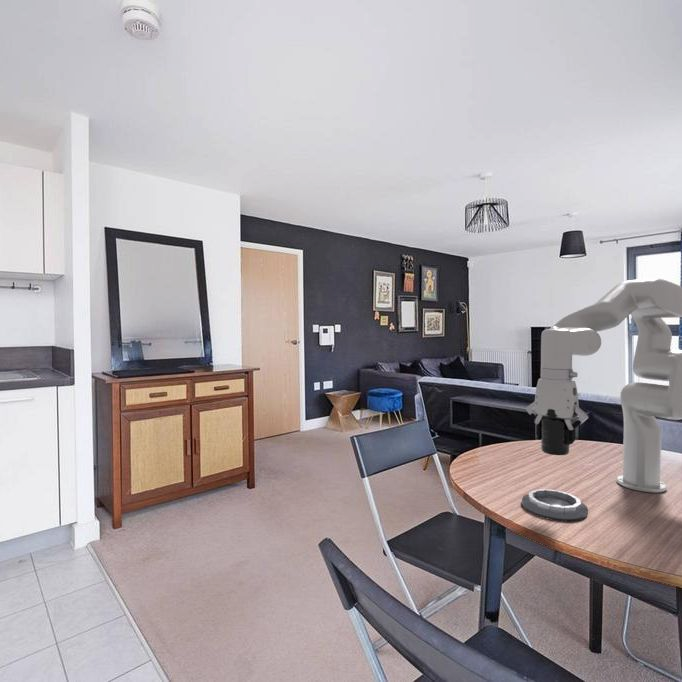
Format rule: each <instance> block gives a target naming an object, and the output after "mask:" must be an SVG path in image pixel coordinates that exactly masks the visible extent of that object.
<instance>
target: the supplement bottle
mask: <svg viewBox="0 0 682 682" xmlns="http://www.w3.org/2000/svg"><path fill="white" fill-rule="evenodd" d="M546 415H548V416H545V417H544V418H542V420H541V439H540V441H541V442H540V443H541V444H540V448H541V451H542V453H544V454H547V455H551V456H566V455H568V454H569V453H570V445H567V444H566V430H567V429H568V427H567V425H566V422H565V420H564V419H560V418H557V417H556V416H557V415H556V414H555V410H553V409H549V410H547V413H546Z"/></svg>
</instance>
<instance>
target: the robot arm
mask: <svg viewBox="0 0 682 682" xmlns="http://www.w3.org/2000/svg"><path fill="white" fill-rule="evenodd" d="M630 315H631V317H632V319H633V321H634V323H635V326H636V327H637V333H638V334H637V341H636V346H635V352H634V356H633V362H632V372H633V373H634V375H635V376H637V377H638V378H641V379H644V380H645V379H646V380H651V381H652V380H653V381H661V382H668V385H665V384H657V383H647V382H640V381H639V382H630V383H628V384H626V385H625V386H624V387H622V389H621V392H620V403H621V409H622V415H623V440H622V441H623V442H622V443H623V445H622V446H623V447H622V449H623V450H622V451H623V453H622V454H623V455H622V474H621V475H618V476H616V482H617V484H619V485H621V486H622V487H624V488H628V489H630V490H634V491H638V492H645V493H653V494H654V493H663V492H666V491H667V484H666V483H664V482H663V481H661V464H662V463H661V462H662V461H661V460H662V459H661V458H662V428H661V425H660V423H659V422H658V420H657V418H661V419H668V420H675V421H678V420H682V349H673V348H672V349H671V347H672V338H673V333H672V331H671V329H670V327H669V325H668V324H667V323H666V322H665V321H664V319H665V318H671V319H672V318H674V319H675V318H682V285H679V284H677V283H674V282H671V281H668V280H666V279H661V278H644V279H643V278H642V279H641V278H640V279H631V280H630V279H629V280H626V281H622V282H619V283H618V284H616V285H615V286H614V287H612V289H610V290H609V291H608V292H607V293H605V294H604V295H603V296H602V297H601V298H600V299H598V300H597V301H596V302H595V303H593V304H591V305H589V306H586V307H584V308H582V309H579V310H577V311H575V312H572V313H570V314H568V315H566V316H564V317H562V318H561V319H559V320H558V321H557V322H556V323H555V324H553V325H552V326H551V327H550V328H546V329H544V330H543V331H542V332H541V336H540V378H538V380H537V384H536V387H535V392H534V393H535V395H534V401H533V402H531V403H530V404H529V405H527V406H526V407H525V410H526V411H527V413H528V414H529V416H530V418H531V419H532V420H533V422H534V424H536V427H535V429H536V430H535V433H536V435H537V439H538V440H541V420H542V418H544V417H545V416H548V415H546V413H547V410H549V409H553V410H555V414H556V415H557V416H556V417H557V418H560V419H564V420H565V422H566V425H567V427H568V429H567V430H566V444H567V445H569V446H570V445H573V444H574V442H575V441H576V429H577V428H578V427H580V426H581V425H582V424H583V423H585V422H586V420H588V419H589V415H588V414H587V413H586V412H585V411H583V409H581V407H579V393H578V387H577V383H576V382H577V381H576V380H573V379H574V378H577V377H578V372H577V371H574V369H573V356H578V357H580V356H581V357H585V356H586V357H587V356H592V355H594V354H596V353H597V352H598V351H599V350H600V349H601V346H602V338H601V336H600V334H599V333H598V332H603V331H606V330H607V331H608V330H611V329H613V328H616V327H618V326H619V325H620V324H621V323H622V322H624V320H625V319H626V318H627V317H629V316H630ZM656 417H657V418H656ZM575 418H578V419H577V420H575Z"/></svg>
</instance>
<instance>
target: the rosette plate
mask: <svg viewBox="0 0 682 682" xmlns="http://www.w3.org/2000/svg"><path fill="white" fill-rule="evenodd" d="M521 505H522V507H523V508H524V510H526V511H527V512H529V513H530V514H532V513H533V515H535V516H537V515H538V516H537V517H540V516H541V517H540V518H543V517H544V519H547V518H548V520H551V519H552V520H551V521H558V522H578V521H581V520H582V521H583V520H584V519H586V518H587V517H588V515H589V508H588V506H587V505H586V504H585V503H583V502H582V501H581V499H580V498H579V497H577V496H575V495H573V494H571V493H569V492H565V491H562V490H556V489H550V488H549V489H547V488H541V489H540V488H539V489H533V490H531V491H528V494H527V493H526V494H525V495H523V496H522V498H521Z"/></svg>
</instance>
